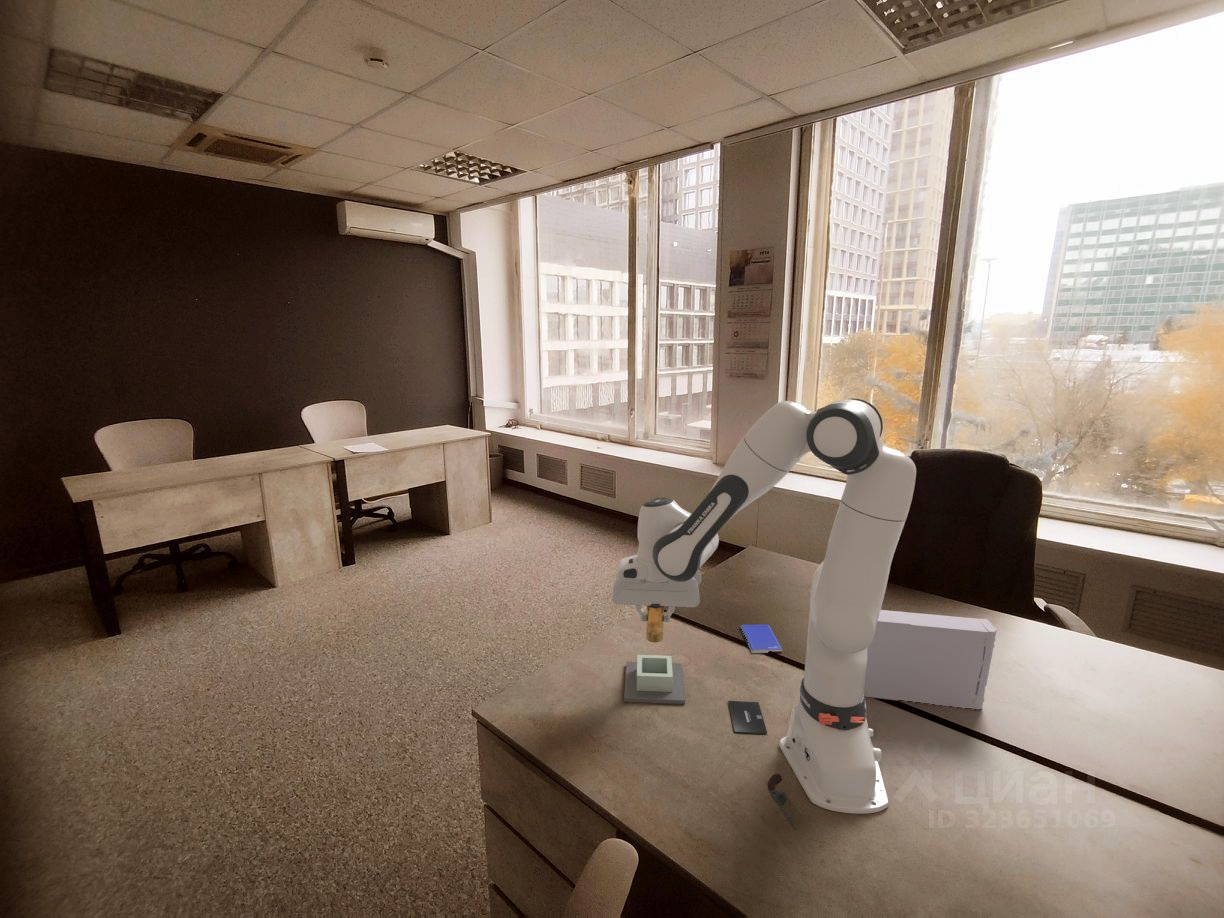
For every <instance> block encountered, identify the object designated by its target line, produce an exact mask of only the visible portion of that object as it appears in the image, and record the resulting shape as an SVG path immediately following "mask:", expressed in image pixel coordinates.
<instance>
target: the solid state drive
mask: <svg viewBox="0 0 1224 918" xmlns="http://www.w3.org/2000/svg"><path fill="white" fill-rule="evenodd" d="M727 704H728V708H729V715H730V720H731V724H732V728H733V732H734V734H745V735H746V734H749V735H764V736H767V735H768V731H767V727H766V723H765V720H764V717H763V713H762V709H761V706H760V703H759V702H758V701H746V700H745V701H742V700H741V701H740V700H739V701H738V700H728V701H727Z"/></svg>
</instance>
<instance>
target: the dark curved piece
mask: <svg viewBox="0 0 1224 918" xmlns="http://www.w3.org/2000/svg"><path fill="white" fill-rule="evenodd" d="M782 780H783V777H782V775H781V774H780V773H774V774H773V775H771V777H770V778H769V780H768V782H767V789H768V791H769V792H770V795H771V797H772V798H773V799H774V800H775V801H776V802H777V804H778V806H779V807H780V809H781V811H782V812H783V814H784V816H785V817H786V818H787V820H788V822H789V823H790V825H791V827H792V828H793V829H794V831H797V828H796V826H795V824H794V823H793V822H792V819H791V818H790V816H789V814H788V812H787V811H786V810H785V808H784V807H783V806H784V804H785V803H786V802H787V801H788V799H789V798H788V796H787V794H786V793H785V792H783V791H779V792H778V791H777V790H776V786H777V785H778V784H780V782H782Z"/></svg>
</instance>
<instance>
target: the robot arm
mask: <svg viewBox="0 0 1224 918" xmlns="http://www.w3.org/2000/svg"><path fill="white" fill-rule="evenodd" d="M883 426H884V424H883V419H882V416H881V413H880V412H879V411H878V409H877V408H876V407H875V406H874V405H873V404H871V402H868V401H866V400H864V399H860V398H845V399H844V398H843V399H838V400H834V401H832V402H829V404H827V405H825V406H822V407H820V408H818V409H817V410H816V411H813V410H810V409H809V408H806V407H805V406H804V405H802V404H800V403H799V402H795V401H791V400H783V401H779V402H777V403H775V404H774V405H773V406H772V407H770V408H769V409H768V410H767V411H766V412H765V413H764V414H763V415H761V417H760V418H758V419H757V421H755V422H754V423H753V425H752V426H751V427H750V428H749V429H748V431H747V432H746V433H745V434H744V435H743V436H742V438H741V439H740V441H739V442H738V443H737V445H736V447H735V448H734V450H733V451H732V453H731V455H730V456H729V458H728V459H727V461H726V462H725V465H724V467H723V468H722V470H721V472H720V473H719V475H718V476H717V478H716V480H715V482H714V483H713V486H712V487H711V488H710V490H709V492H708V493H707V494H706V496H705V497H704V498H703V500H702V501H701V502H700V503H699V504H698V505H697V507H696V508H695V509H694V510H693V512H692V513H691V512H689V511H687V510H686V509H684V508H683V507H681V506H680V505H679V504H678V503H677V502H676V500H674V499H673V498H669V497H655V498H652V499H648V501H646V502H644V503H643V504H642V505H641V507H640V508H639V509H640V510H639V512H638V518H637V519H638V521H637V541H638V549H637V552H636V554H634V555H631V556H626V557H623V558H621V559H620V560H619V561H618V565H617V571H616V573H615V576H614V581H613V587H612V595H611V601H612V602H613V603H614V604H615V605H622V606H624V605H625V606H635V610H636V611H637V613H638V614H639V615H640V616H639V617H640V619H639V620H640V622H646V621H647V610H646V611H644V610H643V606H647V605H648V606H650V605H651V604H660V606H664V607H668V609H667V611H664V619H663V623H670V621H671V620H670V619H671V616H672V615H673V613H674V612H675V610H676V607H677V608H679V607H681V608H696V607H698V606H699V604H700V592H699V591H700V590H699V586H700V584H701V582H702V572H701V571H700V570H699V569H700V568H701V567H702V566H703V565H704V564H705V563H706V561H707V560H709V558H710V557H712V555H713V554H714V552H716V550H717V549H718V546H719V544H720V535H719V532H720V531H721V530H722V529H723V528H724V526H725V525H726V524H727V523H728V522H729V521H730V520H731V519H733V517H735V515H736V514H738V513H739V512H741V510H743V509H744V508H746V507H747V506H749V505H750V504H752V503H753V502H754V501H756V500H758V499H759V498H761V497H762V496H763V495H765V494H766V493H768V492H769V491H770V490H771V489H772V488H773V487H775V486H776V485H777V484H778V483H780V482H781V481H782V479H784V478H785V477H786V476H787V475H788V473H789V472H790V471H791V470H792V469H793V468H794V466H796V464H797V463H798V462H799V461H800V460H801V459H802V458H803V457H804V456H805V455H806V454H808V453H810V452H811V453H812V454H813V455H814V456H815V457H816V458H817V459H818V460H820V461H822V462H824V463H825V464H827V465H828V466H831V467H833V468H834V469H835V470H837V471H839V472H840V473H841V474H843V475H846V477H847V478H846V483H845V485H844V490H843V492H842V496H841V498H840V502H839V506H838V508H837V511H836V515H835V517H834V521H833V525H832V528H831V530H830V534H829V536H828V537H829V538H828V542H827V547H826V552H825V554H824V555H825V556H824V560H823V561H822V562H821V563H820V564H819V565H818V567H817V568H816V570H815V572H814V574H813V576H812V579H811V587H810V588H811V589H810V602H809V615H808V625H807V626H808V627H807V639H806V640H807V641H806V650H805V651H806V652H805V653H806V654H805V663H804V675H803V678H802V679H801V683H800V686H799V687H800V688H799V700H798V703H797V704H796V705H795V706H793V708H792V710H791V712H790V717H789V723H788V728H787V733H786V734H787V735H786V736H784V737H782V738H781V739H780V741H779V744H778V745H779V748H780V750H781V751H782V754H783V755H784V757H785V759H786V761H787V762H788V765H790V767H791V769H792V771H793V773H794V774H795V777H796V778H797V780H798V782H799V783H800V785H801V787H802V788H803V790H804V792H805V794H806V795H807V797H808V799H809V801H810V802H811V803H812V804H814V805H816V806H818V807H821V808H822V809H825V810H829V811H833V812H838V813H846V814H859V815H860V814H863V815H865V814H872V813H878V812H881V811H884V810H885V809H887V808H888V806H889V798H888V795H887V791H886V787H885V783H884V779H883V776H882V773H881V772H882V771H881V769H880V764H879V762H882V756H883V755H882V754H883V753H882V750H881V748H879V747H874V745H873V744H872V739H871V737H874V729H873V728H870V727H869V724H868V720H867V712H866V711H867V704H866V696H865V695H864V684H865V676H866V668H867V649H868V646H869V645H870V644H871V642H872V640H873V638H874V635H875V631H876V626H877V622H878V618H879V614H880V610H882V606H883V601H884V598H885V594H886V590H887V586H888V585H887V584H888V580H889V575H890V571H891V566H892V562H893V559H894V554H895V552H896V549H897V545H898V543H899V540H900V537H901V534H902V532H903V529H904V527H905V523H906V521H907V518H908V514H909V512H910V508H911V504H912V501H913V496H914V492H915V486H916V479H917V467H916V464H915V463H914V461H913V460H912V458H910V457H909V456H908V455H906V454H905V453H903V452H902V451H900V450H899V449H898V450H897V449H895V448H891V447H888V446H887V445H885V444H884V443H883V442H882V440H881V436H882V433H883V430H884V429H883Z"/></svg>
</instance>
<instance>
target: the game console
mask: <svg viewBox="0 0 1224 918" xmlns="http://www.w3.org/2000/svg"><path fill="white" fill-rule="evenodd" d="M996 635H997V628H996V627H995V626H994V625H993V623H991V621H989V619H988V618H974V617H965V616H964V617H963V616H952V615H944V614H943V615H941V614H931V613H929V614H928V613H921V612H920V613H919V612H918V613H917V612H907V611H897V610H886V609H881V610H880V614H879V618H878V622H877V626H876V631H875V635H874V638H873V640H872V642H871V644H870V645H869V646H868V649H867V668H866V676H865V684H864V695H865V698H866V697H867V698H876V699H882V700H891V701H898V700H906V701H905V702H907V701H913V702H912V703H915V702H922V703H921V704H923V703H930V704H929V705H932V704H935V705H934V706H940V705H942V707H949V706H952V707H951V708H957V707H964V708H963V709H965V708H974V709H981V708H982V709H983V704H984V702H985V693H986V692H985V691H986V687H987V685H988V679H989V674H990V669H991V668H990V667H991V662H992V658H993V657H992V656H993V652H994V648H995V641H996ZM953 706H954V707H953ZM974 709H973V710H974ZM982 709H981V710H982Z"/></svg>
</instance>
